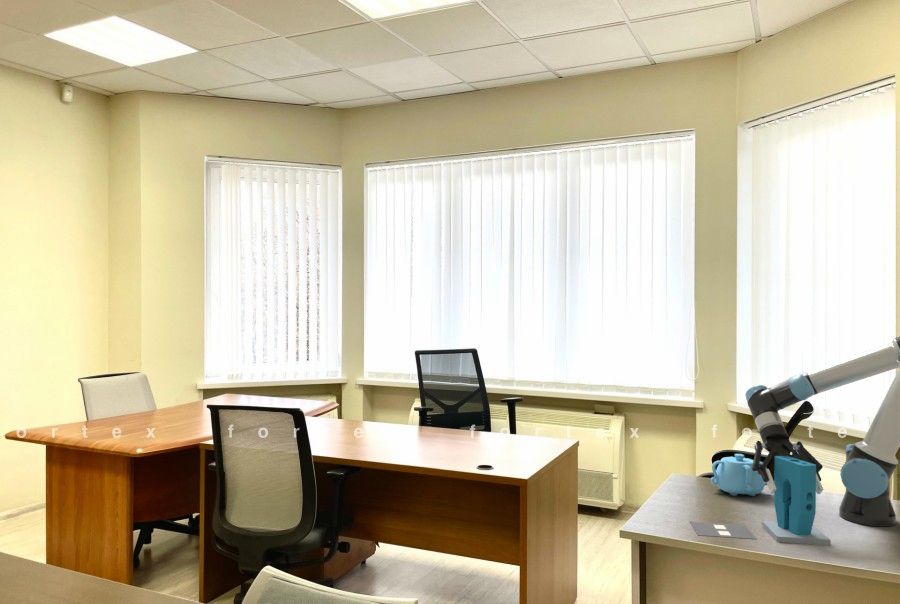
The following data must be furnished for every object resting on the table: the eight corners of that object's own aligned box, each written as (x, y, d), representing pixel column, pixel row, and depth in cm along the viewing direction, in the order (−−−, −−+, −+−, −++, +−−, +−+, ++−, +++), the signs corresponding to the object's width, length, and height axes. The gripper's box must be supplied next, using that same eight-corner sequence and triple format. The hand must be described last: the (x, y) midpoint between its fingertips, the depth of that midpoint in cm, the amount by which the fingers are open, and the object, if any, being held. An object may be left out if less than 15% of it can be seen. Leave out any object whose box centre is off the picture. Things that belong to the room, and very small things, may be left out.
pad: (811, 528, 198) (811, 523, 198) (830, 545, 184) (830, 539, 184) (761, 525, 200) (761, 520, 200) (776, 541, 186) (776, 536, 186)
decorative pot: (748, 501, 225) (748, 461, 226) (705, 490, 238) (706, 452, 238) (772, 494, 235) (773, 456, 235) (730, 484, 248) (731, 447, 248)
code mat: (745, 526, 200) (745, 525, 200) (756, 539, 188) (756, 538, 188) (689, 522, 202) (689, 521, 202) (697, 536, 190) (697, 534, 190)
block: (816, 536, 186) (817, 465, 187) (801, 537, 185) (802, 465, 186) (787, 522, 198) (787, 455, 198) (772, 523, 197) (773, 456, 197)
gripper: (806, 437, 209) (834, 498, 194) (728, 436, 209) (749, 497, 194) (816, 423, 204) (845, 485, 189) (735, 422, 204) (758, 484, 189)
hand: (797, 491), depth 192 cm, fingers open, 13 cm apart
